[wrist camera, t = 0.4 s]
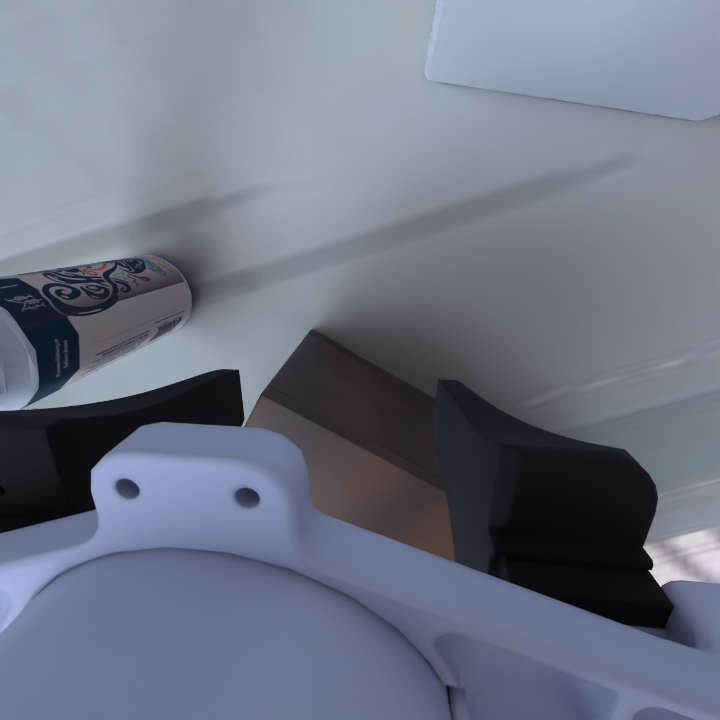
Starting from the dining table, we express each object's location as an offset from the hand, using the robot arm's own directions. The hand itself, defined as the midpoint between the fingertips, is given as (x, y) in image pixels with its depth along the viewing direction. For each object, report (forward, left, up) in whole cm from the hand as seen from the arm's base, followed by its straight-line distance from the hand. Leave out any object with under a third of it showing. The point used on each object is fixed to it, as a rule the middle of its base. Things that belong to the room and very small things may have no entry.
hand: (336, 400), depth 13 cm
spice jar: (+2, +13, -10) cm, 16 cm away
